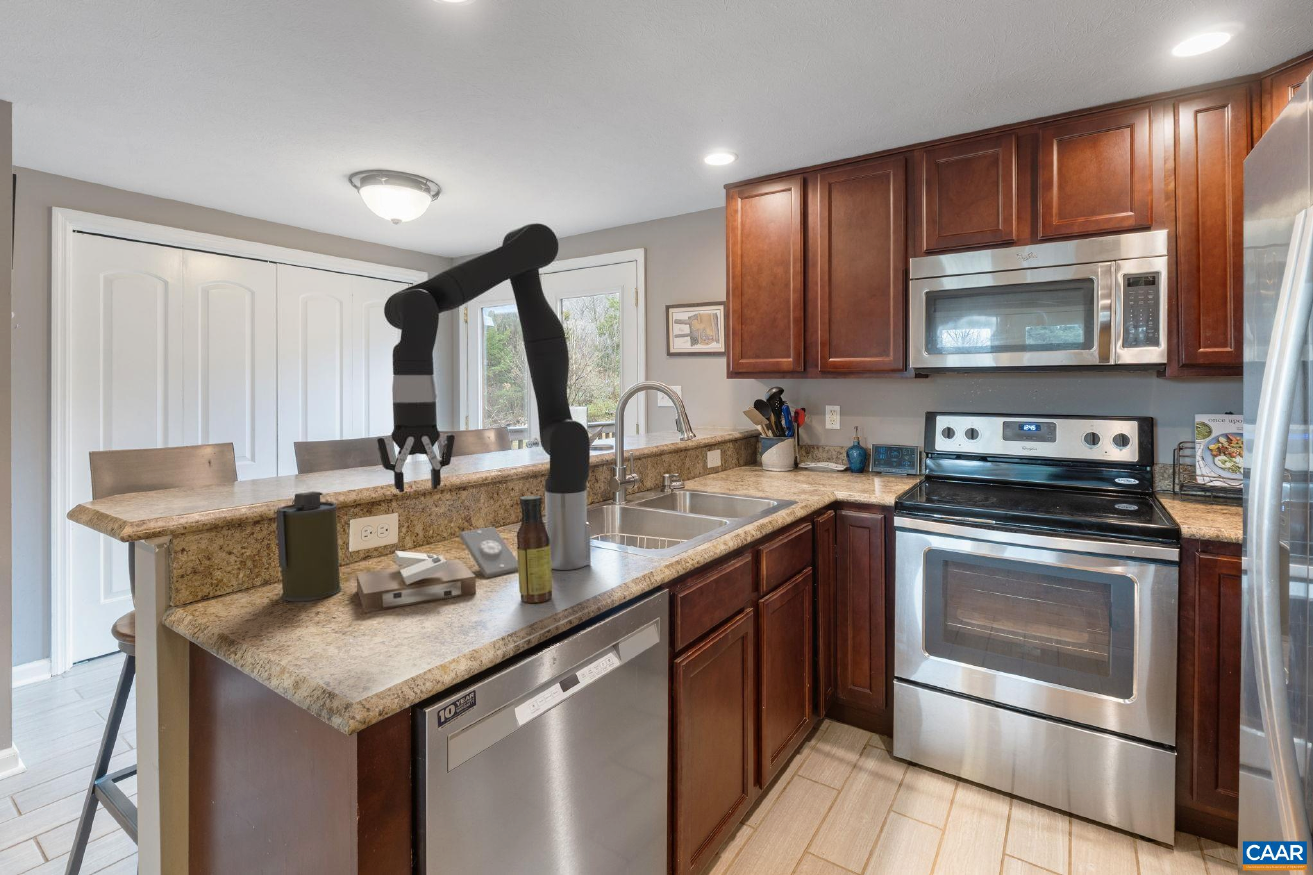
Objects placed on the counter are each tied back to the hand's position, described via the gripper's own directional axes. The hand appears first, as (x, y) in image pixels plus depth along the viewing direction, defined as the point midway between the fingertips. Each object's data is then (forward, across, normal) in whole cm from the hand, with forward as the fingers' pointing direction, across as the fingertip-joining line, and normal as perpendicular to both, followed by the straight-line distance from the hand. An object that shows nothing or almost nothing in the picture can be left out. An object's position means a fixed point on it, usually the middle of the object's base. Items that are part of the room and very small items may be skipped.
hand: (417, 489), depth 118 cm
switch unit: (+21, 0, -6) cm, 22 cm away
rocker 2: (+16, -1, -2) cm, 16 cm away
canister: (+22, +18, -16) cm, 32 cm away
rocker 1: (+16, -1, -10) cm, 19 cm away
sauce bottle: (+22, -19, +10) cm, 30 cm away
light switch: (+22, -17, -15) cm, 32 cm away
